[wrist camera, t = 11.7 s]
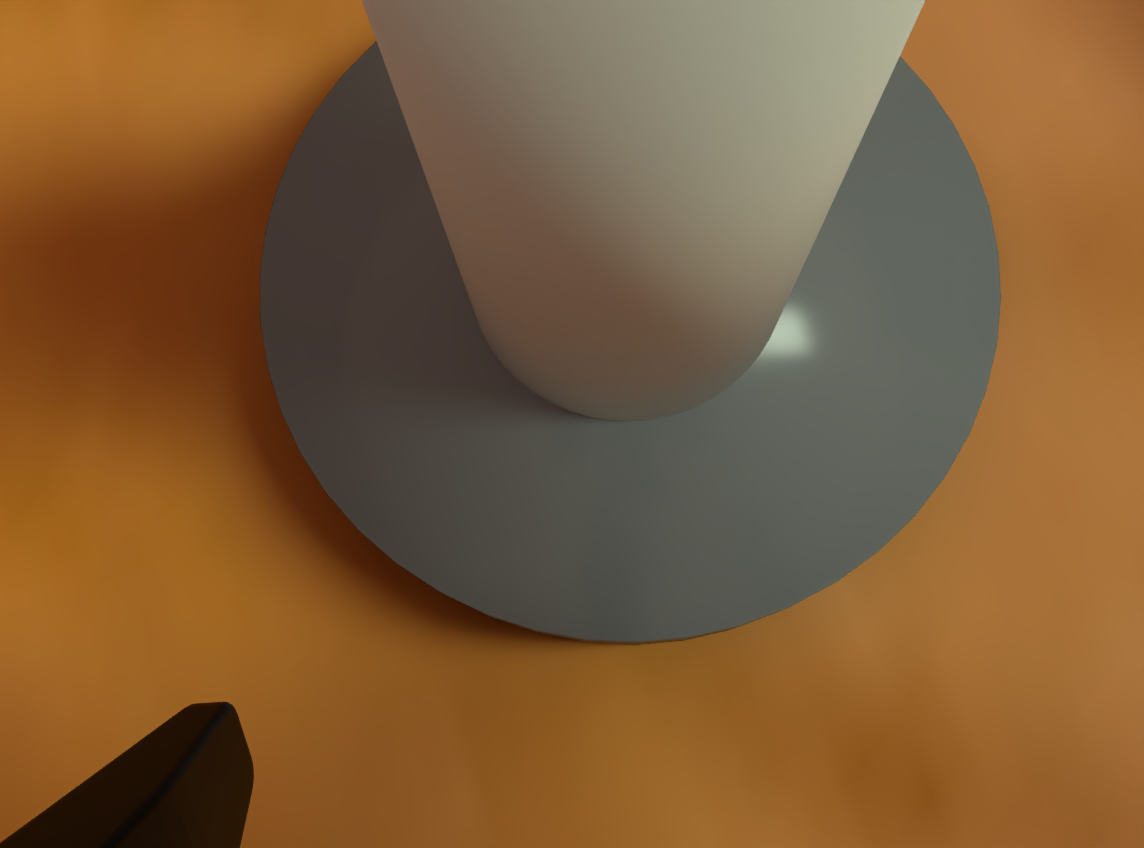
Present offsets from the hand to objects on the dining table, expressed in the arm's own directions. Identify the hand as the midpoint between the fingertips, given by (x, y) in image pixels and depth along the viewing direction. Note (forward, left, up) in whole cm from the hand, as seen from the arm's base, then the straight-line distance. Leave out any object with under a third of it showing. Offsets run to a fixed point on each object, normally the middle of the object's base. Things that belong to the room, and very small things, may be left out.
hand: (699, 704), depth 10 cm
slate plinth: (+7, +3, -10) cm, 13 cm away
